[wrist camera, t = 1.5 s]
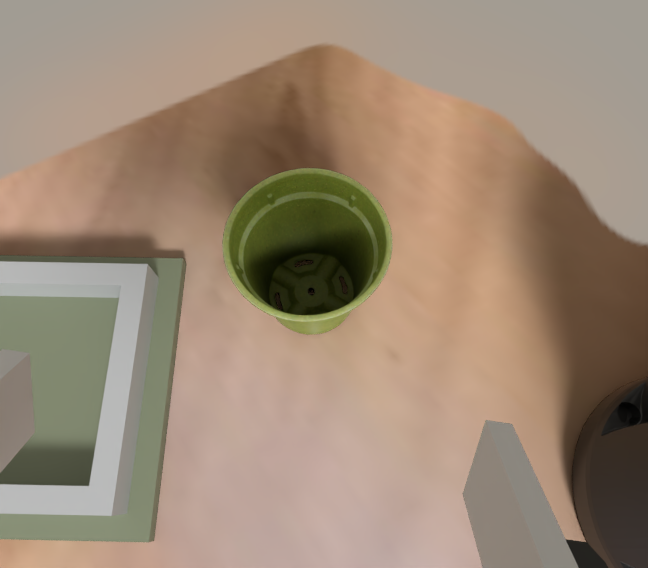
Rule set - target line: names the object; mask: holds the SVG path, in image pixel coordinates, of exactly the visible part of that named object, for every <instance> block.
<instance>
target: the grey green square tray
mask: <svg viewBox="0 0 648 568" xmlns="http://www.w3.org/2000/svg"><path fill="white" fill-rule="evenodd" d="M185 271H186V262H185V261H184V259H183V258H136V257H77V256H18V255H0V351H1V350H2V349H6V350H13V351H19V352H26V353H30V365H31V380H32V396H33V411H34V427H35V433H34V434H33V435H32V436H31V438H30V439H29V440H28V441H27V442H26V443H25V445H24V446H23V447H22V448H21V449H20V450H19V452H18V453H17V454H16V455H15V456H14V458H13V459H12V460H11V461H10V462H9V463H8V465H7V466H6V467H5V468H4V469H3V470H2V472H1V473H0V539H19V540H67V541H115V542H151V541H154V536H155V528H156V519H157V511H158V502H159V494H160V485H161V476H162V468H163V459H164V451H165V442H166V434H167V425H168V416H169V408H170V399H171V391H172V382H173V374H174V365H175V356H176V348H177V339H178V331H179V322H180V314H181V305H182V297H183V288H184V279H185Z"/></svg>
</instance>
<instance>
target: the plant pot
mask: <svg viewBox="0 0 648 568" xmlns="http://www.w3.org/2000/svg"><path fill="white" fill-rule="evenodd" d="M222 244H223V257H224V262H225V266H226V269H227V271H228V274H229V276H230V278H231V280H232V282H233V283H234V285H235V286H236V288H237V289H238V290H239V292H240V293H241V294H242V295H243V296H244V297H245V298H246V299H247V300H248V301H249V302H250V303H251V304H253V305H254V306H255V307H257V308H258V309H260V310H262V311H263V312H265V313H267V314H269V315H272V316H274V317H276V319H277V320H278V321H279V322H280V323H281V324H283V325H284V326H285V327H287V328H289V329H291V330H293V331H295V332H298V333H302V334H321V333H325V332H327V331H330V330H332V329H334V328H336V327H337V326H338V325H340V324H341V323H342V322H343V321H344V320H345V319H346V317H347V316H348V315H349V313H350V312H351V310H353V309H354V308H356V307H357V306H359V305H360V304H362V303H363V302H364V301H365V300H366V299H367V298H368V297H369V296H370V295H371V294H372V293H373V292H374V291H375V290H376V288H377V287H378V286H379V284H380V283H381V281H382V279H383V278H384V276H385V274H386V271H387V269H388V266H389V263H390V259H391V254H392V233H391V228H390V225H389V222H388V219H387V216H386V214H385V212H384V210H383V208H382V206H381V205H380V203H379V202H378V200H377V199H376V198H375V197H374V196H373V194H372V193H371V192H370V191H369V190H368V189H366V188H365V187H364V186H362V185H361V184H360V183H358V182H357V181H355V180H353V179H352V178H350V177H348V176H346V175H343V174H340V173H338V172H334V171H331V170H325V169H319V168H301V169H295V170H289V171H285V172H282V173H278V174H276V175H273V176H271V177H268V178H267V179H265V180H263V181H261V182H260V183H258V184H257V185H255V186H254V187H253V188H251V189H250V190H249V191H248V192H247V193H246V194H245V195H244V196H243V197H242V198H241V199H240V200H239V201H238V203H237V204H236V205H235V207H234V208H233V210H232V212H231V214H230V216H229V218H228V220H227V222H226V226H225V229H224V234H223V242H222ZM303 260H312V261H313V263H312V264H308V265H302V266H299V267H295V266H294V265H295V264H296V263H297V262H299V261H303ZM340 276H341V277H343V278H344V281H345V283H346V285H347V293H346V294H344V293H343V289H342V285H341V282H340V279H339V277H340ZM309 288H313V289H314V291H315V293H314V294H313V295H310V294H309V293H308V289H309ZM277 292H279V293H280V300H281V304H282V307H283V310H281V309H279V308H278V306H277V303H276V300H275V295H276V293H277Z"/></svg>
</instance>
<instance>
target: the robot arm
mask: <svg viewBox="0 0 648 568" xmlns="http://www.w3.org/2000/svg"><path fill="white" fill-rule="evenodd" d="M34 433H35V427H34V411H33V396H32V380H31V365H30V353H26V352H19V351H13V350H6V349H2V350H1V351H0V473H1V472H2V470H3V469H4V468H5V467H6V466H7V465H8V463H9V462H10V461H11V460H12V459H13V458H14V456H15V455H16V454H17V453H18V452H19V450H20V449H21V448H22V447H23V446H24V445H25V443H26V442H27V441H28V440H29V439H30V438H31V436H32V435H33V434H34ZM572 480H573V494H574V501H575V506H576V511H577V515H578V518H579V522H580V525H581V528H582V530H583V533H584V536H585V538H586V540H587V542H588V543H587V542H580V541H573V540H566V539H565V537H564V535H563V533H562V531H561V529H560V526H559V524H558V522H557V520H556V518H555V516H554V514H553V511H552V509H551V507H550V505H549V503H548V501H547V498H546V496H545V494H544V492H543V490H542V488H541V486H540V483H539V481H538V479H537V477H536V475H535V473H534V470H533V468H532V466H531V464H530V462H529V460H528V457H527V455H526V453H525V451H524V449H523V447H522V445H521V442H520V440H519V438H518V436H517V434H516V432H515V429H514V427H513V425H512V424H509V423H502V422H495V421H488V420H486V421H485V424H484V427H483V431H482V434H481V437H480V440H479V443H478V447H477V450H476V453H475V456H474V459H473V463H472V466H471V469H470V472H469V475H468V479H467V482H466V485H465V488H464V491H463V497H464V501H465V505H466V508H467V512H468V516H469V519H470V523H471V527H472V530H473V534H474V538H475V541H476V545H477V549H478V552H479V556H480V560H481V563H482V567H483V568H648V377H646V378H643V379H640V380H637V381H634V382H631V383H629V384H627V385H625V386H623V387H621V388H619V389H617V390H616V391H614V392H613V393H612V394H610V395H609V396H608V397H607V398H605V399H604V400H603V401H602V402H601V403H600V404H599V405H598V406H597V408H596V409H595V410H594V411H593V412H592V414H591V415H590V417H589V418H588V420H587V422H586V423H585V425H584V427H583V429H582V432H581V434H580V437H579V439H578V442H577V446H576V450H575V455H574V461H573V474H572Z"/></svg>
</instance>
